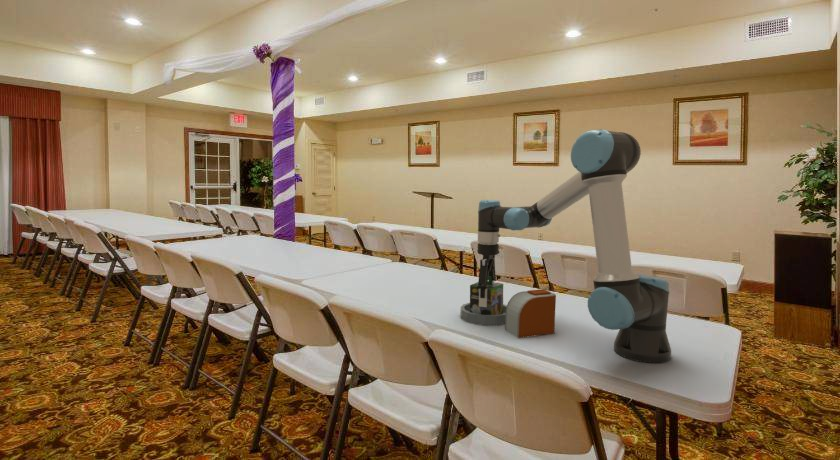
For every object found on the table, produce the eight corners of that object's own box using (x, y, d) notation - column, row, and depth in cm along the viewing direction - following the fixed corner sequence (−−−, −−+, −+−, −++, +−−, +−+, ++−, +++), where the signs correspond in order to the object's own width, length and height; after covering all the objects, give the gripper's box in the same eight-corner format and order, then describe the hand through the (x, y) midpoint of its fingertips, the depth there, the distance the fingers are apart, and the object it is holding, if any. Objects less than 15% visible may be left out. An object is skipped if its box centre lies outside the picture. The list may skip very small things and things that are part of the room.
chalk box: (503, 314, 170) (504, 274, 168) (490, 320, 163) (491, 278, 161) (481, 309, 176) (482, 271, 174) (468, 315, 168) (469, 275, 167)
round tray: (506, 328, 157) (507, 318, 157) (454, 321, 164) (455, 312, 163) (515, 313, 175) (515, 304, 174) (467, 308, 181) (468, 299, 181)
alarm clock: (541, 325, 161) (543, 287, 160) (556, 333, 153) (558, 293, 152) (504, 330, 156) (505, 290, 154) (518, 338, 148) (520, 296, 146)
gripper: (491, 248, 154) (489, 312, 156) (504, 239, 176) (502, 295, 178) (469, 246, 156) (468, 309, 159) (485, 238, 179) (483, 293, 181)
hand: (486, 302), depth 169 cm, fingers open, 12 cm apart
